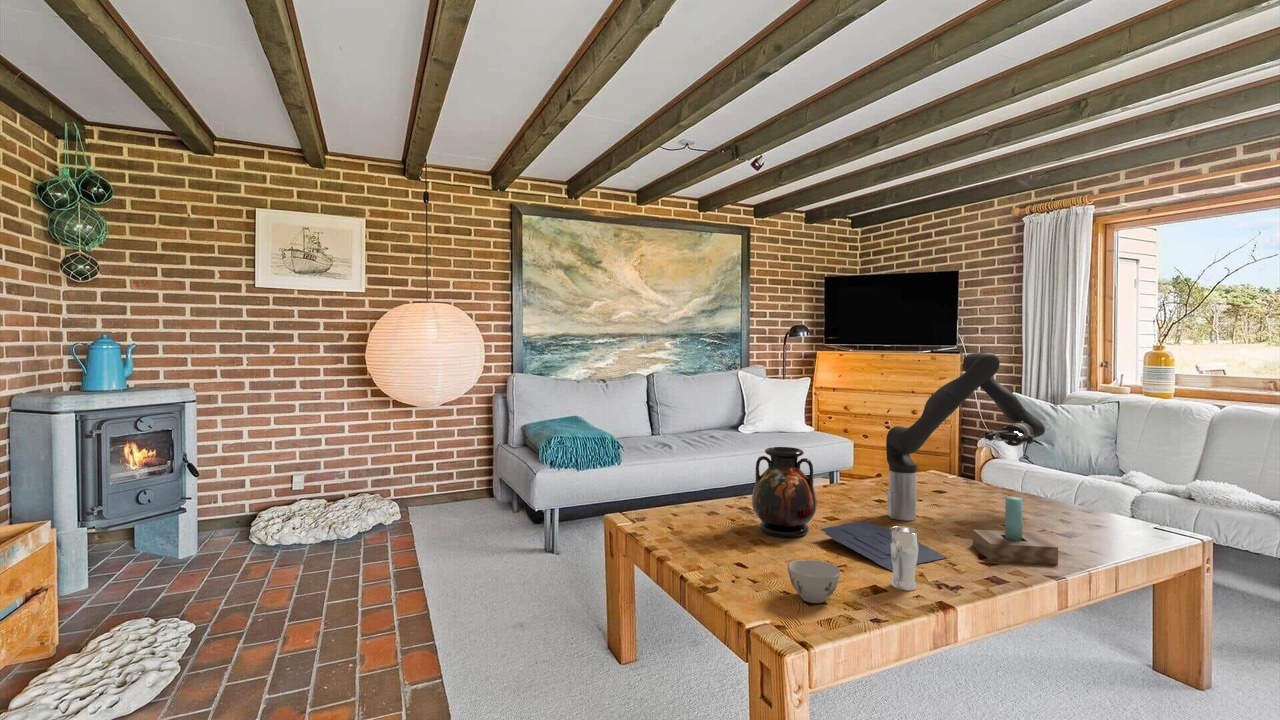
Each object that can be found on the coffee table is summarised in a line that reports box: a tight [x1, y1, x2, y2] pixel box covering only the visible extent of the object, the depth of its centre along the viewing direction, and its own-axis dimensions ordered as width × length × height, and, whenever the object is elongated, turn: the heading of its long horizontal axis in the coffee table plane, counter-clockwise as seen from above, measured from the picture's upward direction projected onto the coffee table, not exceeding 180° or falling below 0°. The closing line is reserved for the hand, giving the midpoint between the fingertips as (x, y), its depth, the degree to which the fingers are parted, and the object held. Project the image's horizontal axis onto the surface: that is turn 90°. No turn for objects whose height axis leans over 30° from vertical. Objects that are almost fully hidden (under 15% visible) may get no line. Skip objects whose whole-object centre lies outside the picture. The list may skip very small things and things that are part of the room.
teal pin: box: [1004, 496, 1024, 541], centre depth 183 cm, size 4×4×16 cm
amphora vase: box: [751, 446, 818, 539], centre depth 206 cm, size 22×22×28 cm
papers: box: [819, 520, 948, 572], centre depth 188 cm, size 24×30×4 cm
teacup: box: [787, 559, 841, 604], centre depth 153 cm, size 15×12×8 cm
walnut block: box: [972, 529, 1059, 565], centre depth 183 cm, size 18×14×5 cm
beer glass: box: [890, 525, 920, 592], centre depth 159 cm, size 7×7×15 cm
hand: (1003, 439), depth 207 cm, fingers open, 8 cm apart
